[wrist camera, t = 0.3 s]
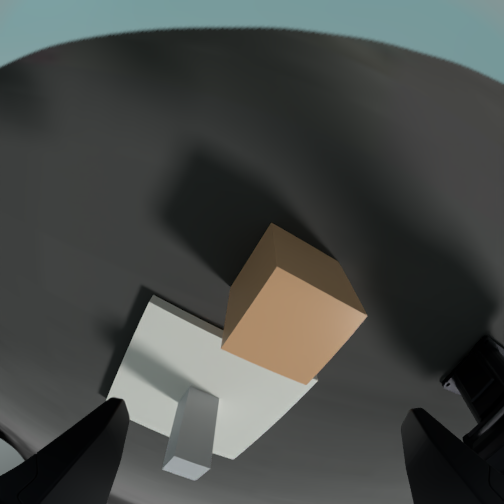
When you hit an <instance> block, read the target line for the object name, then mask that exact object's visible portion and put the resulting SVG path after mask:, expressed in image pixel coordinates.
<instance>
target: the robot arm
mask: <svg viewBox="0 0 504 504" xmlns="http://www.w3.org/2000/svg"><path fill="white" fill-rule="evenodd" d="M442 386H443V387H444V389H447V390H449V391H451V392H454V393H456V394H459V395H461V396H462V397H463V399H464V401H465V402H466V404H467V406H468V407H469V409H470V411H471V413H472V414H473V416H474V418H475V420H476V421H477V423H478V425H477V426H476V427H475V428H473V429H472V430H471V431H470V432H469V433H468V434H466V435H465V436H463V442H464V443H463V442H462V441H461V440H460V439H459V438H457V437H456V436H455V435H454V434H453V433H451V432H450V431H449V430H448V429H447V428H445V427H444V426H443V425H442V424H441V423H439V422H438V421H437V420H436V419H435V418H434V417H432V416H431V415H430V414H429V413H428V412H426V411H425V410H424V409H423V408H414V409H411V410H409V412H408V414H407V416H406V417H405V419H404V421H403V423H402V426H401V434H402V442H403V449H404V457H405V465H406V471H407V475H408V479H409V484H410V488H411V493H412V497H413V502H414V504H504V348H502V347H501V346H500V345H499V344H497V343H496V342H495V341H493V340H492V339H491V338H489V337H488V336H484V337H483V338H482V339H481V340H480V341H479V342H478V344H477V345H476V346H475V347H474V348H473V349H472V351H471V352H470V353H469V354H468V355H467V356H466V358H465V359H464V360H463V361H462V362H461V363H460V364H459V365H458V366H457V368H456V369H455V370H454V371H453V372H452V373H451V374H450V375H449V376H448V377H447V378H446V379H445V380H444V381H443V383H442ZM129 420H130V417H129V413H128V410H127V407H126V403H125V401H124V400H123V399H121V398H116V397H111V398H109V399H108V400H107V401H105V402H104V403H103V404H101V405H100V406H99V407H97V408H96V409H95V410H94V411H92V412H91V413H90V414H88V415H87V416H86V417H84V418H83V419H82V420H80V421H79V422H78V423H76V424H75V425H74V426H72V427H71V428H70V429H68V430H67V431H66V432H64V433H63V434H62V435H60V436H59V437H57V438H56V439H55V440H53V441H52V442H51V443H49V444H48V445H47V446H45V447H44V448H43V449H41V450H40V451H38V452H37V454H34V455H33V456H31V457H30V458H29V459H27V460H26V461H24V462H23V463H22V464H20V465H18V466H17V467H15V468H14V469H12V470H10V471H8V472H6V473H5V474H3V475H1V476H0V504H106V503H107V500H108V497H109V494H110V491H111V488H112V485H113V482H114V479H115V476H116V473H117V470H118V467H119V464H120V461H121V457H122V453H123V448H124V443H125V439H126V434H127V430H128V425H129Z"/></svg>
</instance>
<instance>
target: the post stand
mask: <svg viewBox="0 0 504 504" xmlns="http://www.w3.org/2000/svg"><path fill="white" fill-rule="evenodd" d="M222 337H223V330H221V329H219V328H217V327H215V326H213V325H211V324H209V323H207V322H205V321H203V320H201V319H199V318H197V317H195V316H193V315H191V314H189V313H187V312H185V311H183V310H181V309H180V308H178V307H176V306H174V305H172V304H170V303H168V302H166V301H164V300H162V299H161V298H159V297H157V296H155V295H153V296H152V298H151V299H150V301H149V303H148V305H147V307H146V309H145V312H144V314H143V316H142V318H141V320H140V322H139V325H138V327H137V329H136V331H135V333H134V336H133V338H132V340H131V342H130V345H129V347H128V349H127V352H126V354H125V356H124V358H123V361H122V363H121V365H120V368H119V370H118V372H117V375H116V377H115V380H114V382H113V384H112V387H111V389H110V392H109V394H108V397H107V399H106V401H107V400H108V399H109V398H111V397H116V398H121V399H123V400H124V401H125V403H126V407H127V410H128V413H129V417H130V420H132V421H134V422H136V423H139V424H141V425H143V426H145V427H147V428H150V429H152V430H154V431H157V432H159V433H161V434H164V435H166V436H169V437H170V438H169V442H168V446H167V450H166V454H165V459H164V463H163V467H162V469H163V470H166V471H168V472H171V473H174V474H177V475H180V476H183V477H185V478H188V479H192V480H195V481H196V480H197V479H198V478H199V477H201V476H202V475H203V474H204V473H205V472H207V471H208V470H209V469H210V467H211V459H212V453H214V454H217V455H220V456H223V457H227V458H230V459H233V460H234V459H235V458H236V457H237V456H238V455H239V454H241V453H242V452H243V451H244V450H245V449H247V448H248V447H249V446H250V445H251V444H252V443H253V442H255V441H256V440H257V439H258V438H259V437H260V436H261V435H262V434H264V433H265V432H266V431H267V430H268V429H269V428H270V427H271V426H272V425H273V424H274V423H276V422H277V421H278V420H279V419H280V418H281V417H282V416H283V415H284V414H285V413H286V412H287V411H288V410H289V409H290V408H291V407H292V406H293V405H294V404H295V403H296V402H297V401H298V400H299V399H300V398H301V397H302V396H303V395H304V394H305V393H306V392H307V391H308V390H309V389H310V388H311V387H312V386H313V385H314V384H315V383H316V382H317V381H318V377H317V374H316V375H315V377H314V378H313V379H312V380H311V381H310V382H309V383H308V384H307V385H304V384H302V383H299V382H297V381H294V380H292V379H289V378H287V377H284V376H282V375H280V374H277V373H275V372H272V371H270V370H268V369H265V368H263V367H261V366H258V365H256V364H254V363H251V362H249V361H247V360H244V359H242V358H240V357H238V356H236V355H233V354H231V353H229V352H227V351H225V350H222V349H221V343H222Z"/></svg>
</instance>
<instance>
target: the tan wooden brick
mask: <svg viewBox="0 0 504 504" xmlns="http://www.w3.org/2000/svg"><path fill="white" fill-rule="evenodd" d="M366 317H367V314H366V312H365V310H364V308H363V306H362V304H361V302H360V300H359V299H358V297H357V295H356V293H355V291H354V289H353V287H352V286H351V284H350V282H349V280H348V278H347V276H346V274H345V273H344V271H343V269H342V267H341V265H340V264H339V262H338V261H336V260H335V259H333V258H331V257H330V256H328V255H326V254H324V253H323V252H321V251H319V250H318V249H316V248H314V247H313V246H311V245H309V244H308V243H306V242H304V241H302V240H301V239H299V238H297V237H296V236H294V235H292V234H290V233H289V232H287V231H285V230H283V229H282V228H280V227H278V226H277V225H275V224H273V223H271V224H270V225H269V227H268V228H267V230H266V232H265V233H264V235H263V236H262V238H261V240H260V241H259V243H258V244H257V246H256V248H255V249H254V251H253V252H252V254H251V255H250V257H249V259H248V260H247V262H246V263H245V265H244V267H243V268H242V270H241V271H240V273H239V275H238V276H237V278H236V279H235V281H234V283H233V284H232V286H231V288H230V294H229V300H228V306H227V312H226V318H225V325H224V331H223V337H222V343H221V349H222V350H225V351H227V352H229V353H231V354H233V355H236V356H238V357H240V358H242V359H244V360H247V361H249V362H251V363H254V364H256V365H258V366H261V367H263V368H265V369H268V370H270V371H272V372H275V373H277V374H280V375H282V376H284V377H287V378H289V379H292V380H294V381H297V382H299V383H302V384H304V385H307V384H308V383H309V382H310V381H311V380H312V379H313V378H314V377H315V375H316V374H317V373H318V372H319V371H320V370H321V369H322V368H323V367H324V366H325V365H326V364H327V362H328V361H329V360H330V359H331V358H332V357H333V356H334V355H335V354H336V352H337V351H338V350H339V349H340V348H341V347H342V346H343V344H344V343H345V342H346V341H347V340H348V339H349V338H350V336H351V335H352V334H353V333H354V332H355V330H356V329H357V328H358V327H359V326H360V324H361V323H362V322H363V321H364V320H365V318H366Z"/></svg>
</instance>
